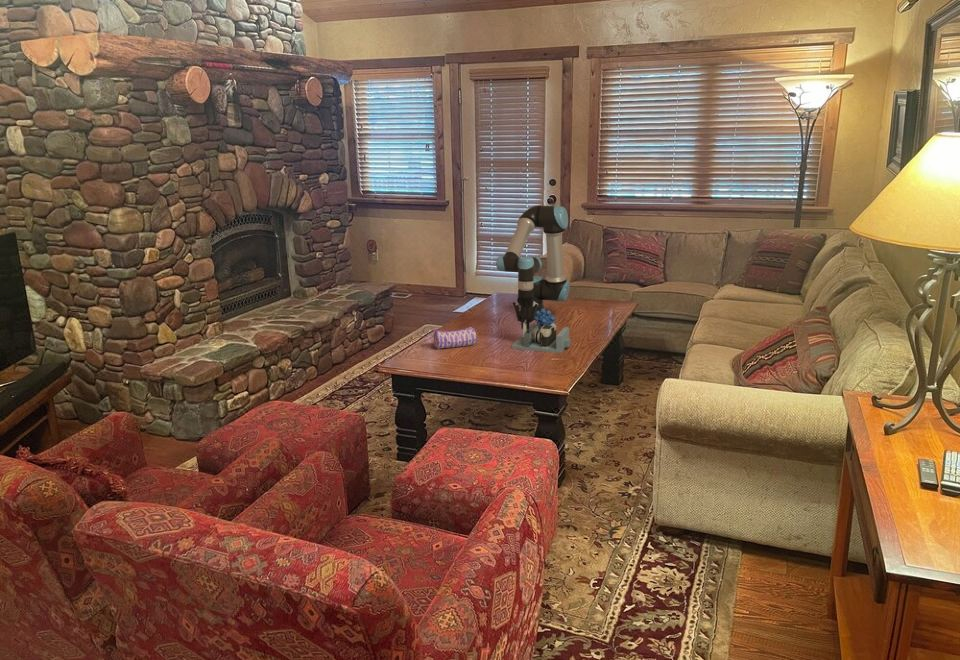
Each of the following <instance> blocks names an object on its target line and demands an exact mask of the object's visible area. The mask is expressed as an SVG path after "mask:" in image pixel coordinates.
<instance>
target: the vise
mask: <svg viewBox="0 0 960 660" xmlns="http://www.w3.org/2000/svg"><path fill="white" fill-rule="evenodd" d="M570 345H571V338H570V327H568V326H565V327H563V328H562V329H561V330H560V331H559V333H557V334H556V341H555V342H554V343H553V344H552V345H551V346H550V347H549V348H542V345H541V343H540V342H536V341H534V342H533V343H532V344H531V345H530V346H529V347H526V346H524V336H520V337H519V338H517V340H516V341H514V343H513V344H511V349H514V350H515V349H516V350H522V351H523V350H525V351H534V352H535V351H537V352H543V353H544V352H545V353H553V352H554V353H555V354H562V353H563V352H564V350H565V349H566V348H569V347H570Z"/></svg>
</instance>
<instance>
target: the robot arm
mask: <svg viewBox="0 0 960 660" xmlns="http://www.w3.org/2000/svg"><path fill="white" fill-rule="evenodd" d="M516 224H517V226H516V228H515V231H514V233H513V235H512V238H511V240H510V242H509V245H508V247H507V249H506V251H505V252H504V255H499V256H497V259H496V261H495V263H496V264H495V265H496V269H497V270H498V271H500V272H505V273H506V272H510V273H517V276H518V277H517V288H518V290H517V299H516V301H513V302H512V305H513V307H514V310H515V315H516V319H517V322H520V325H521V330H522V333H523V334H522V337H524V333H525V332H526V331H527V330H528V329H529V328H530V325H531V324H530V323H532V322H533V321H536V320H535V319H534V317H535V316H537V315H536V311H540V310H541V309H545V307H544V302H543V301H551V302H566V300H567V299H568V296H569V294H570V288H571V283H570V281H569V280H567V276H566V275H565V274H564V254H563V252H564V251H563V249H564V248H563V233H565V230H566V229H567V228H568V226H569V216H568V211H567V209H566V207H564V206H561V205H533V206H531V207H529V208H527V209H526V210H525V211H524V212H522V214H521V215H520V217H519V218H518V220H517V222H516ZM535 228H542V231H543V234H545V239H546V240H545V242H546V263H547V265H546V267H547V275H546V276H545V278H544V276H543V275H534V274H535V273H538V272H539V271H540V270H541V269H542V266H543V262H542V260H541V258H539V257H537V256H522V257H521V255H522V252H523V250H524V247H525V246H526V244H527V242H528V239H529V237H530V234H531V232H533V231H534V230H535ZM519 306H520V308H519Z"/></svg>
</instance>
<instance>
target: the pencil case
mask: <svg viewBox="0 0 960 660" xmlns="http://www.w3.org/2000/svg"><path fill="white" fill-rule="evenodd" d="M475 329H476V327H475V326H473V327H472V326H470V327H466V328H463V329H457V330H447V331H441V330H432V331H433V332H434V334H433V344H434V347H435V349H437V350H440V349H447V348H460V347H468V346H474V345H476V344H477V341H478V337H477V333H476V330H475Z"/></svg>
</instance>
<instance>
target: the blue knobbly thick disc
mask: <svg viewBox="0 0 960 660" xmlns="http://www.w3.org/2000/svg"><path fill="white" fill-rule="evenodd" d="M536 315H537V316H535V317H534V319H535V320H534V321H536V325H538V327H540V328H542V327H543V326H544V325H548V326H550V324H555V325H556V326H557V324H556V322H555V321H556V317H555V316H554V315H552V311H550V310H546V309H545V308H544V309H541V310H540V311H536Z"/></svg>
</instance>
